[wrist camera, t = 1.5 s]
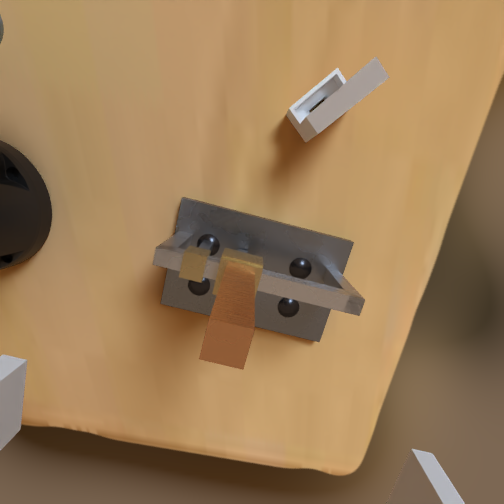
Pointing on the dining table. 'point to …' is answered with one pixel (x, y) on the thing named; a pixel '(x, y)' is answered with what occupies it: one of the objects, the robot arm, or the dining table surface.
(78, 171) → the dining table surface
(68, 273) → the dining table surface
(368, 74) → the white wedge bracket
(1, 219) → the robot arm
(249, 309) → the sliding leg
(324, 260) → the bolt plate
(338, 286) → the grey bracket frame
